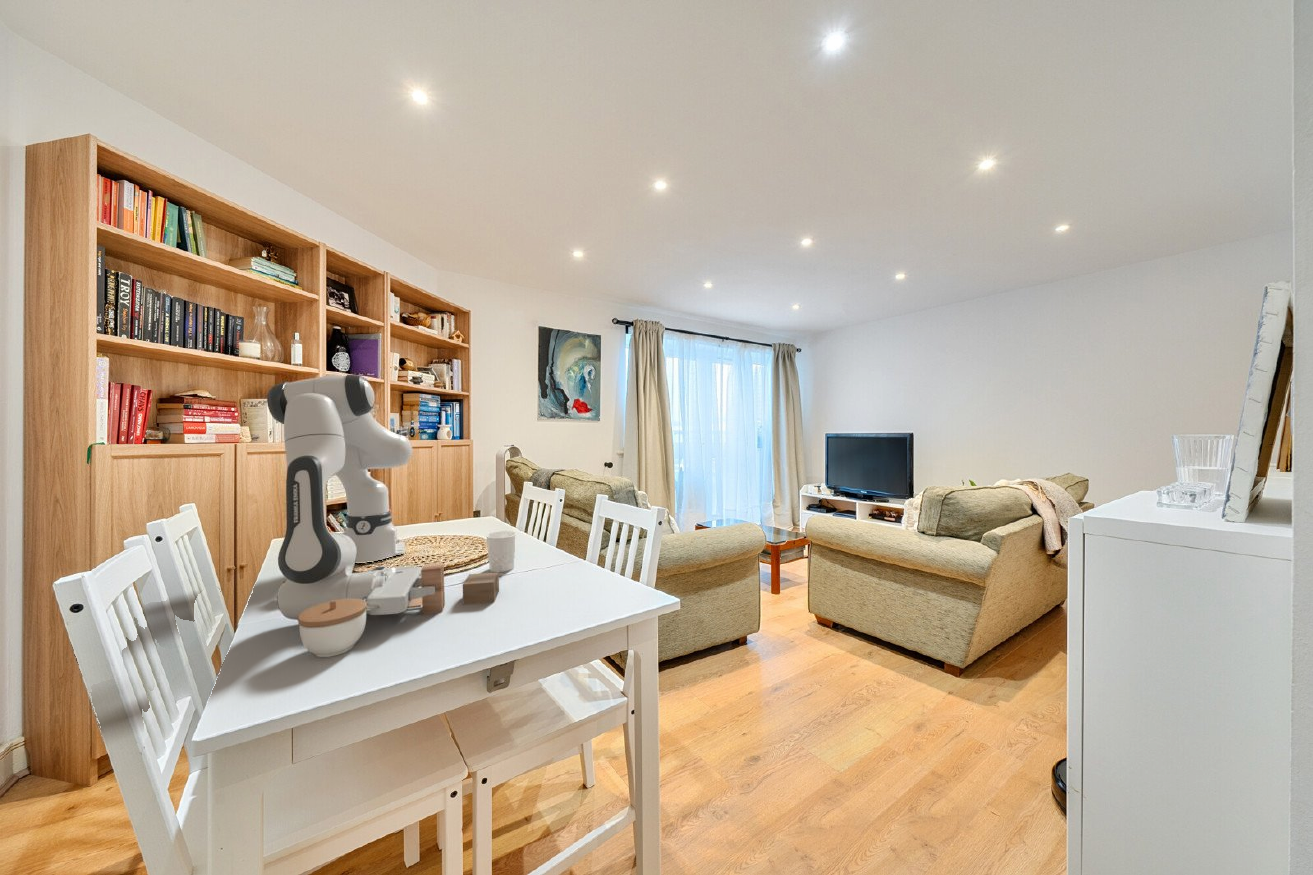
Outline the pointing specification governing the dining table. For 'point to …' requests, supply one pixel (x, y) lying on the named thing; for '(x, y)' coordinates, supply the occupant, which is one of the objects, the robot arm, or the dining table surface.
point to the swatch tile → (415, 604)
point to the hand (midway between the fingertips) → (437, 584)
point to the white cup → (501, 551)
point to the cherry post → (435, 576)
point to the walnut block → (481, 588)
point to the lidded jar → (332, 626)
